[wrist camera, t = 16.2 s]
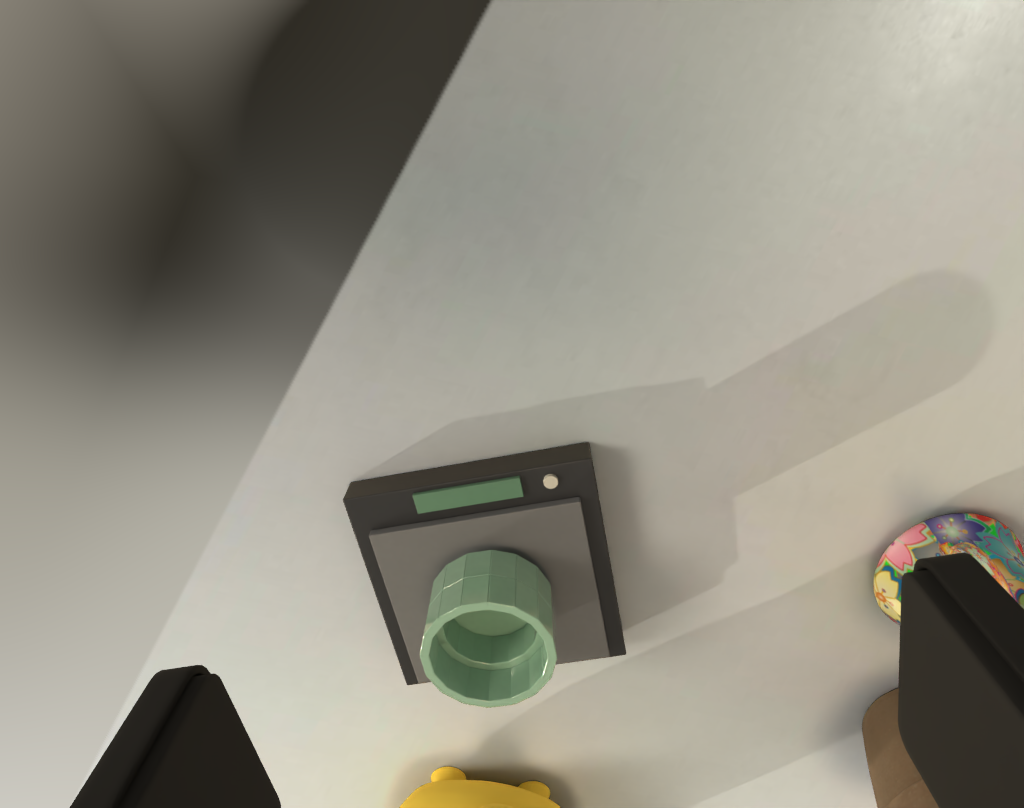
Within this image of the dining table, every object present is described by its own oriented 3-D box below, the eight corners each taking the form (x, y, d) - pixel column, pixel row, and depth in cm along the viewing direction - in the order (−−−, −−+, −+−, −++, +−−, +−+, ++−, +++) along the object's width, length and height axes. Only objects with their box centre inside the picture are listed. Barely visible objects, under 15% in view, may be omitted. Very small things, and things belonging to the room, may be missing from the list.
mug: (1037, 587, 43) (1185, 731, 34) (889, 646, 45) (988, 797, 36) (980, 436, 39) (1129, 550, 30) (820, 508, 41) (911, 637, 32)
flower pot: (902, 799, 51) (985, 955, 42) (787, 733, 49) (847, 883, 40) (1033, 704, 47) (1156, 853, 38) (915, 626, 45) (1015, 766, 36)
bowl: (419, 553, 40) (405, 613, 35) (541, 535, 39) (543, 594, 35) (447, 647, 43) (437, 714, 38) (561, 632, 42) (566, 698, 38)
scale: (350, 481, 41) (339, 505, 39) (588, 441, 40) (592, 463, 37) (411, 662, 47) (405, 693, 44) (622, 632, 45) (627, 662, 43)
